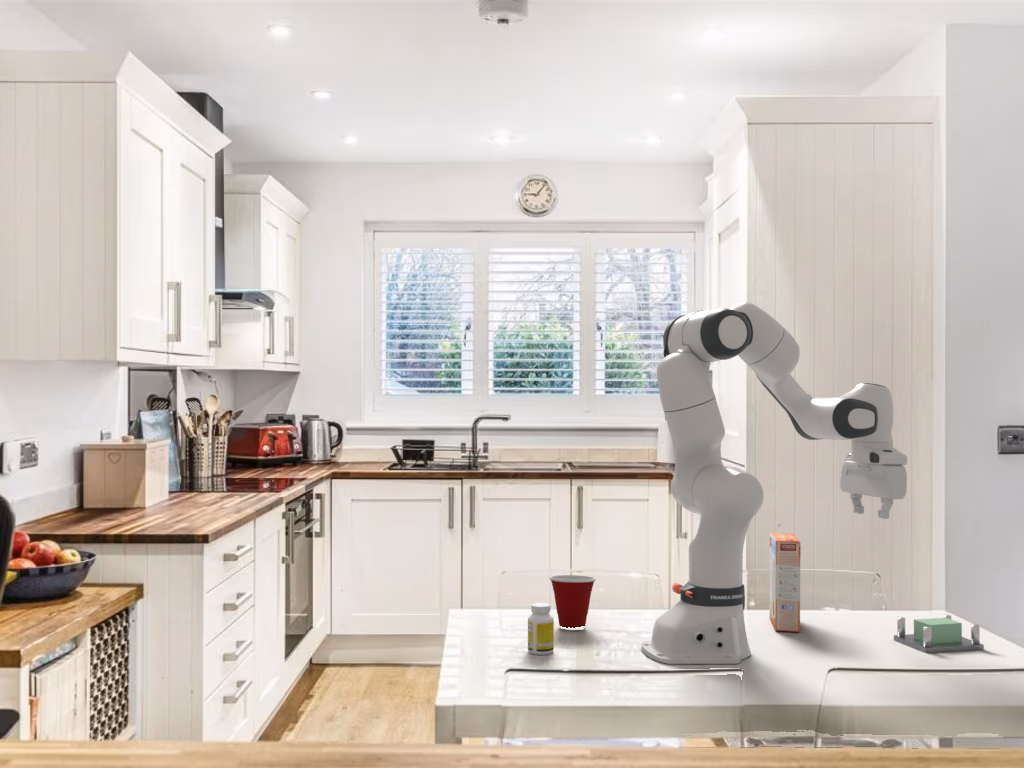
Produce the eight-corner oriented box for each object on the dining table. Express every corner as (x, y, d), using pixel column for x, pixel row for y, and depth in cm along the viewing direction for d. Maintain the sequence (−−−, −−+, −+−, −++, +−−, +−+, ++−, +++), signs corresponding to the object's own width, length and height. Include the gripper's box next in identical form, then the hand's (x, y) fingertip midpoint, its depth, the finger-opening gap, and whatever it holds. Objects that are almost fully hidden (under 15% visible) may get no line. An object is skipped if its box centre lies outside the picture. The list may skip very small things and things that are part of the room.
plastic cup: (597, 623, 208) (597, 572, 208) (594, 634, 197) (594, 581, 197) (551, 621, 209) (551, 570, 210) (546, 632, 198) (546, 579, 199)
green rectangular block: (929, 643, 187) (929, 625, 187) (913, 637, 192) (913, 619, 192) (961, 641, 188) (961, 623, 189) (945, 635, 193) (945, 617, 193)
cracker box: (801, 633, 199) (801, 540, 200) (774, 631, 200) (773, 540, 201) (794, 619, 213) (794, 532, 213) (769, 617, 214) (768, 531, 215)
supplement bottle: (558, 651, 184) (558, 603, 184) (545, 657, 179) (545, 608, 179) (536, 647, 187) (536, 600, 187) (522, 652, 182) (522, 605, 182)
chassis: (925, 652, 183) (925, 628, 184) (893, 639, 194) (893, 617, 194) (983, 649, 186) (983, 625, 186) (949, 636, 197) (948, 614, 197)
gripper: (833, 452, 209) (832, 510, 209) (886, 456, 189) (885, 521, 189) (857, 453, 210) (856, 510, 210) (912, 457, 190) (911, 521, 190)
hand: (870, 515), depth 199 cm, fingers open, 8 cm apart
